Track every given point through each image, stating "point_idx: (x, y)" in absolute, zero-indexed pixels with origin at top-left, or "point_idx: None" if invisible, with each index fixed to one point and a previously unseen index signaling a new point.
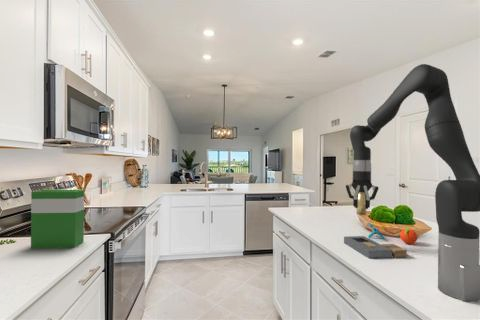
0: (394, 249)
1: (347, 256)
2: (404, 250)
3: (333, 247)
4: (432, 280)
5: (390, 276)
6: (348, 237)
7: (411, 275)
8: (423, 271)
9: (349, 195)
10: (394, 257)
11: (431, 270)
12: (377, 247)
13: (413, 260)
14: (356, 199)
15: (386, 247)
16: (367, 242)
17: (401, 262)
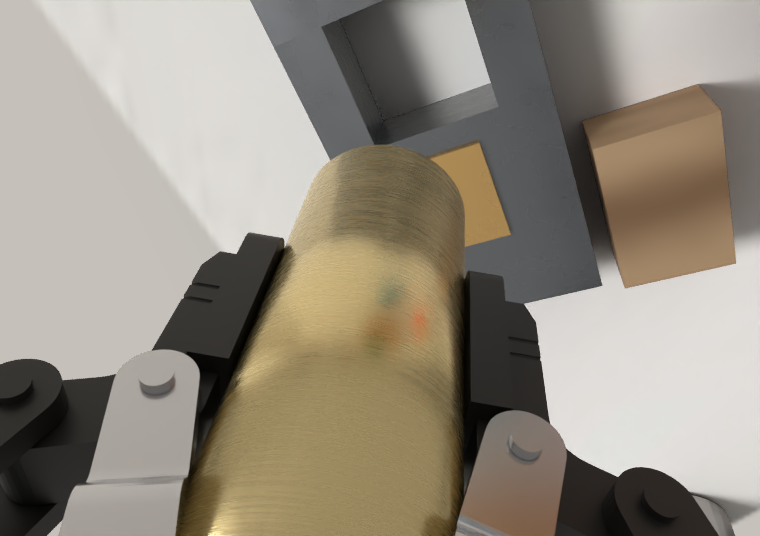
0: (631, 270)
1: None
2: (712, 266)
3: (183, 133)
4: (638, 465)
5: None
6: (290, 2)
7: (568, 439)
8: (666, 399)
9: (2, 513)
10: (612, 248)
11: (727, 384)
12: (506, 252)
13: (729, 269)
14: (221, 370)
15: (586, 238)
16: (456, 154)
17: (613, 314)
